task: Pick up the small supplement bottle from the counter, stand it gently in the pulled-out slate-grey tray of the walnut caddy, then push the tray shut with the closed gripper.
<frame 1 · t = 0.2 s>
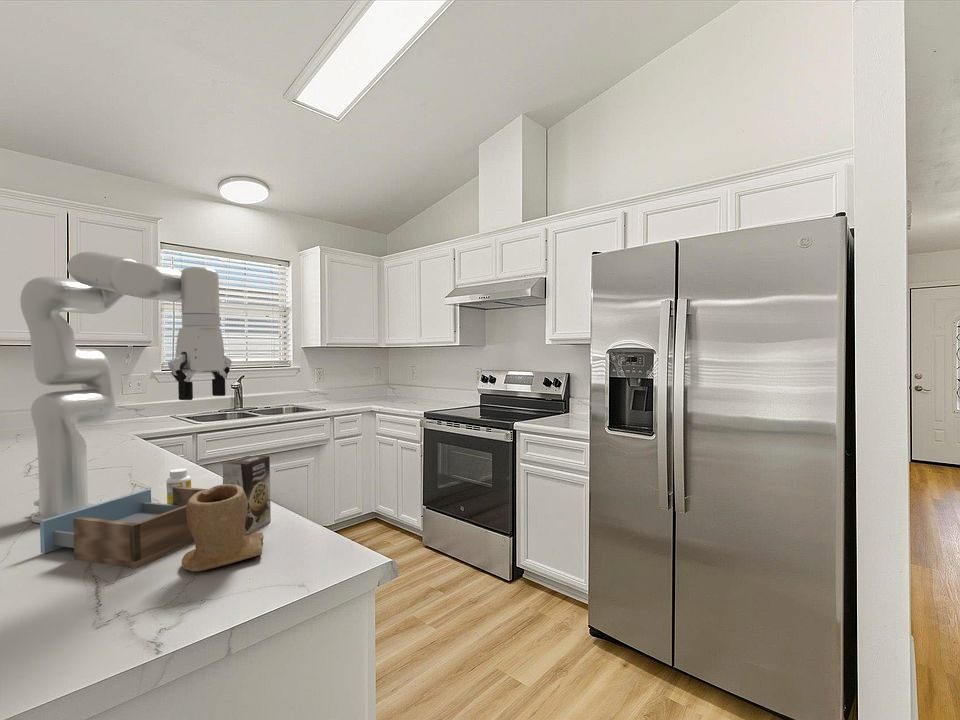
hand: (203, 397, 115), 31 cm above the counter, fingers open, 9 cm apart
stone cup: (227, 563, 99), on the counter
supplement bottle: (179, 509, 132), on the counter
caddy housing: (159, 540, 110), on the counter
tray: (125, 520, 112), point 4 cm above the counter, slide at 8.0 cm
coffee box: (248, 528, 118), on the counter
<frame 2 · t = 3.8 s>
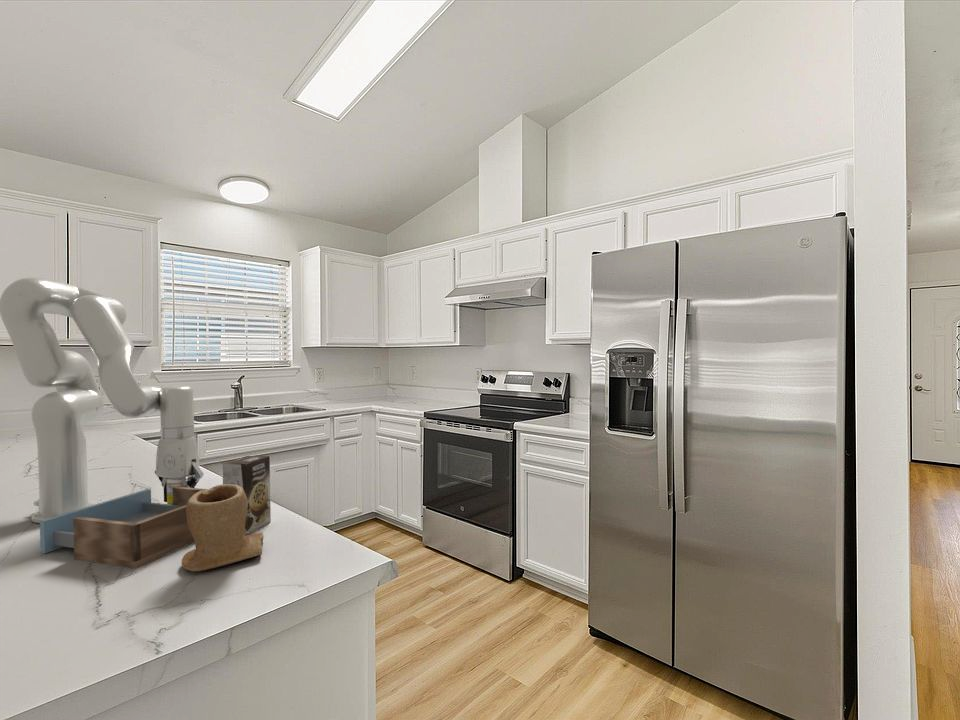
hand: (179, 500, 132), 2 cm above the counter, fingers closed on supplement bottle, 5 cm apart
supplement bottle: (179, 509, 132), on the counter, touching gripper
everything else where it was.
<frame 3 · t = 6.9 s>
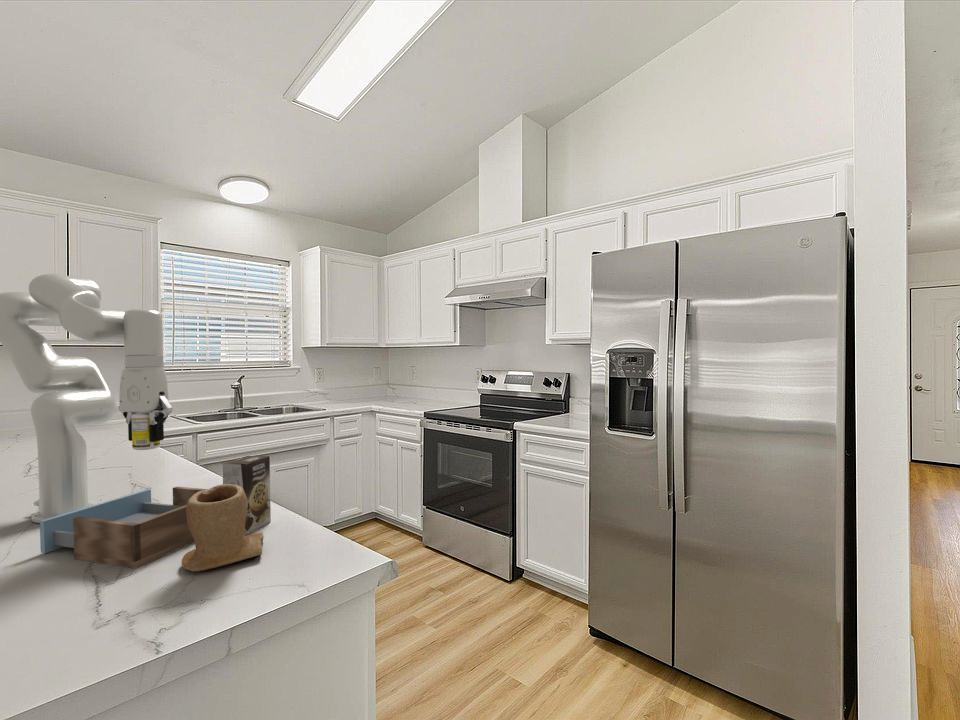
hand: (146, 439, 117), 21 cm above the counter, fingers closed on supplement bottle, 5 cm apart
supplement bottle: (146, 449, 117), point 19 cm above the counter, touching gripper
everything else where it was.
when the fingers open (6 cm above the counter, at t = 10.0 s): supplement bottle drops 1 cm, resting on tray.
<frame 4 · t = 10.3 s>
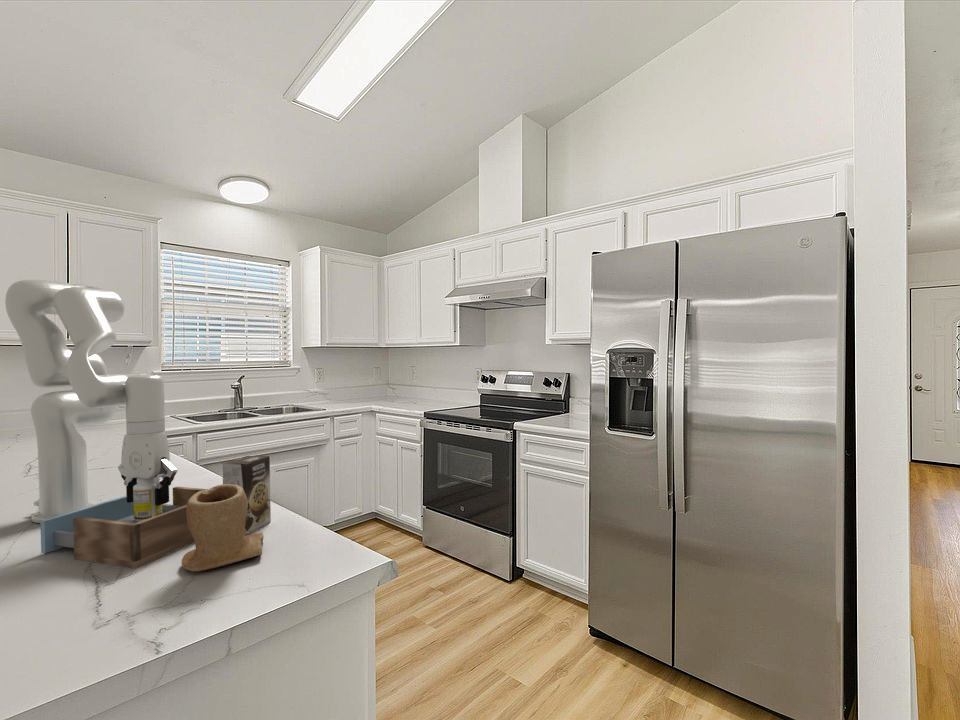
hand: (148, 502, 118), 6 cm above the counter, fingers open, 8 cm apart
supplement bottle: (148, 519, 118), point 2 cm above the counter, touching tray
tray: (126, 520, 112), point 4 cm above the counter, slide at 7.9 cm, touching supplement bottle
everything else where it was.
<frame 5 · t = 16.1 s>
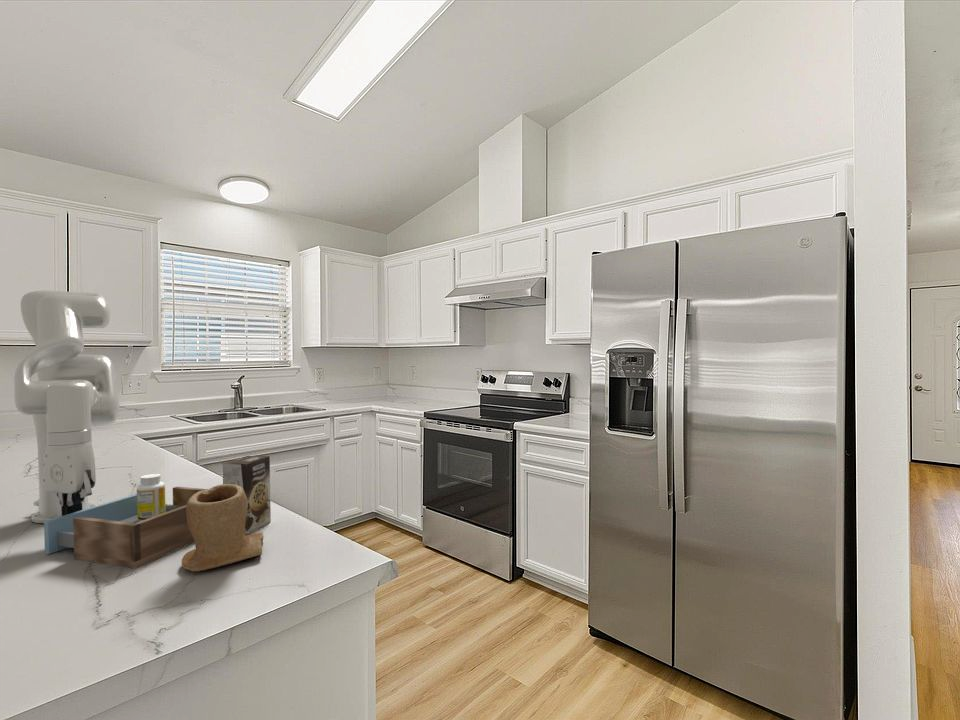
hand: (72, 521, 110), 4 cm above the counter, fingers closed
supplement bottle: (151, 520, 118), point 2 cm above the counter, touching tray
tray: (129, 521, 112), point 4 cm above the counter, slide at 6.8 cm, touching supplement bottle, gripper
everything else where it was.
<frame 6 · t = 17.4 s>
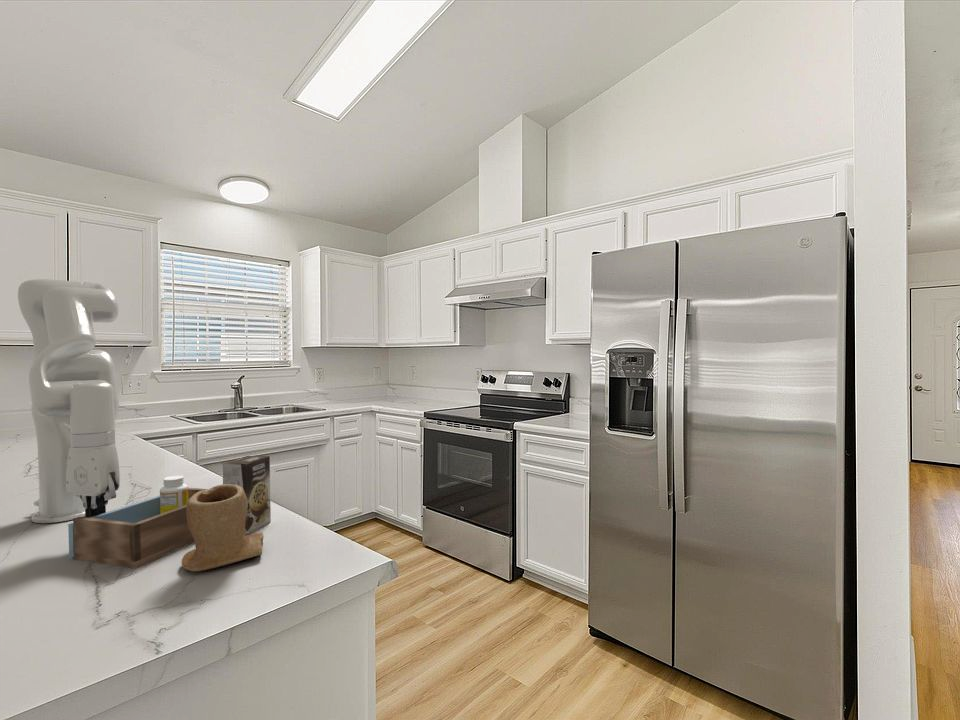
hand: (96, 524, 108), 4 cm above the counter, fingers closed
supplement bottle: (174, 522, 116), point 2 cm above the counter, touching tray
tray: (153, 524, 110), point 4 cm above the counter, slide at -0.1 cm, touching supplement bottle, gripper
everything else where it was.
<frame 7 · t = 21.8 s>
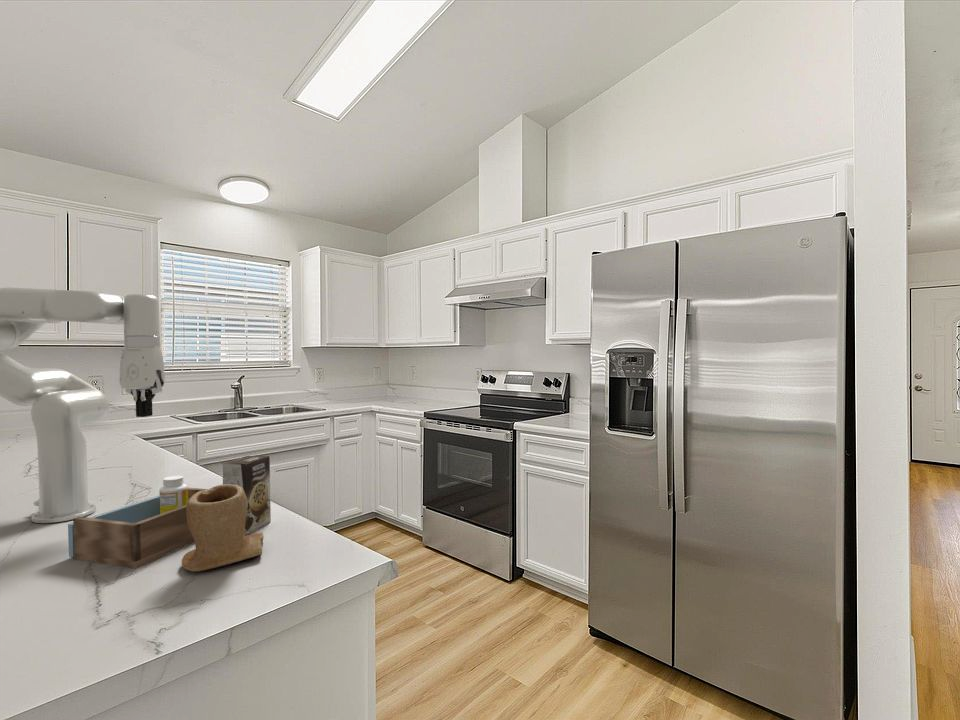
hand: (144, 416, 127), 25 cm above the counter, fingers closed
tray: (153, 523, 110), point 4 cm above the counter, slide at 0.0 cm, touching supplement bottle
everything else where it was.
at the end: tray slide at 0.0 cm; supplement bottle inside the target area on the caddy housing (5.9 cm from its centre), point 2.0 cm above the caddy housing's base; supplement bottle tilted 0° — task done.
